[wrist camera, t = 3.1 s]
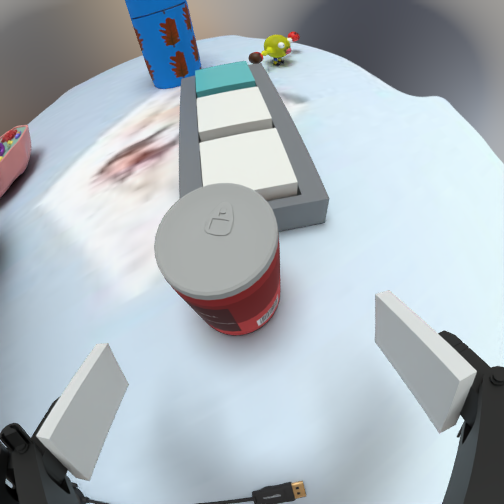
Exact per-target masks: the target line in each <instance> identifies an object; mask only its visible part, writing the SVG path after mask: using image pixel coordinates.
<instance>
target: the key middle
mask: <svg viewBox="0 0 504 504" xmlns="http://www.w3.org/2000/svg"><path fill="white" fill-rule="evenodd" d="M197 115H198V130H199V135H200V139H201V142H205V141H209V140H214V139H218V138H223V137H228V136H233V135H238V134H243V133H248V132H254V131H260V130H265V129H272V117H271V115H270V113H269V110H268V108H267V106H266V104H265V101H264V99H263V97H262V95H261V93H260V90H259V88H258V87H251V88H245V89H239V90H234V91H229V92H223V93H219V94H214V95H209V96H205V97H200V98H197Z"/></svg>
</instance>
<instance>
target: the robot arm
mask: <svg viewBox="0 0 504 504" xmlns="http://www.w3.org/2000/svg"><path fill="white" fill-rule="evenodd" d="M375 343H376V344H377V345H378V347H379V348H380V349H381V351H382V352H383V353H384V355H385V356H386V357H387V359H388V360H389V362H390V363H391V364H392V366H393V367H394V368H395V370H396V371H397V373H398V374H399V375H400V377H401V378H402V380H403V381H404V382H405V384H406V385H407V387H408V388H409V390H410V391H411V392H412V394H413V395H414V397H415V398H416V400H417V401H418V402H419V404H420V405H421V407H422V408H423V410H424V411H425V413H426V414H427V416H428V417H429V419H430V420H431V422H432V423H433V425H434V426H435V428H436V429H437V431H438V432H439V433H441V432H443V431H445V430H447V429H449V428H450V427H452V426H454V425H456V423H457V420H458V418H459V416H460V415H461V416H462V417H463V419H464V420H465V421H464V423H463V425H462V427H461V429H460V431H459V433H458V435H457V437H460V441H459V446H458V451H457V455H456V459H455V463H454V467H453V471H452V474H451V478H450V481H449V484H448V488H447V491H446V494H445V497H444V500H443V502H442V504H504V367H500V366H496V367H492V368H491V367H489V366H488V365H487V364H486V363H485V362H484V361H483V360H482V359H481V358H480V357H479V356H478V355H477V354H476V353H474V352H473V351H472V350H471V349H470V348H468V346H467V345H466V344H465V343H463V342H462V341H461V340H460V339H459V338H458V337H457V336H456V335H454V334H452V333H449V332H447V331H442V332H440V333H437V332H436V331H435V330H434V329H432V328H431V327H430V326H429V325H428V324H427V323H426V322H425V321H424V320H423V319H421V318H420V317H419V316H418V315H417V314H416V313H415V312H414V311H412V310H411V309H410V308H409V307H408V306H407V305H406V304H405V303H403V302H402V301H401V300H400V299H399V298H398V297H396V296H395V295H394V294H393V293H392V292H391V291H389V290H388V291H385V292H381V293H378V294H375ZM128 385H129V384H128V382H127V380H126V378H125V376H124V374H123V372H122V371H121V369H120V367H119V365H118V363H117V361H116V359H115V357H114V355H113V353H112V351H111V348H110V346H109V344H108V343H104V344H96V345H95V347H94V348H93V349H92V351H91V352H90V354H89V355H88V356H87V358H86V359H85V361H84V362H83V364H82V365H81V367H80V368H79V369H78V371H77V372H76V374H75V375H74V377H73V378H72V380H71V381H70V383H69V384H68V386H67V387H66V389H65V390H64V392H63V393H62V395H61V396H60V397H59V398H58V399H57V400H55V401H54V402H53V403H52V405H51V406H50V408H49V410H48V412H47V413H46V414H45V416H44V417H45V418H43V419H42V421H41V422H40V424H39V426H38V427H37V429H36V430H35V432H34V434H33V435H32V437H31V438H30V437H29V436H28V434H27V433H26V432H25V431H24V429H23V428H22V427H21V426H20V425H19V424H17V423H12V424H9V425H7V426H6V427H5V428H4V429H3V430H2V432H1V433H0V440H1V441H2V442H3V443H4V444H5V445H6V446H7V448H6V447H5V446H4V445H3V444H2V443H1V442H0V504H79V501H78V499H77V496H76V494H75V491H74V489H73V486H72V484H71V481H70V479H69V478H68V476H67V475H66V473H67V471H69V472H70V473H71V474H73V475H74V476H75V477H76V478H79V479H83V480H87V481H90V479H91V476H92V473H93V471H94V468H95V465H96V463H97V460H98V457H99V455H100V452H101V450H102V447H103V445H104V442H105V439H106V437H107V435H108V432H109V430H110V427H111V425H112V422H113V420H114V418H115V415H116V413H117V410H118V408H119V406H120V403H121V401H122V399H123V397H124V394H125V392H126V390H127V387H128ZM460 435H461V436H460ZM6 479H7V480H8V481H10V482H11V483H12V484H13V487H12V488H10V487H9V486H8V485H7V484H6V483H5V480H6Z"/></svg>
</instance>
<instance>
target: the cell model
mask: <svg viewBox="0 0 504 504" xmlns="http://www.w3.org/2000/svg"><path fill="white" fill-rule="evenodd" d="M30 155H31V138H30V133H29V128H28V125H22V126H16V127H14V128H13V129H11V130H9V131H8V132H6V133H5V134H3V136H1V137H0V197H1V196H2V195H3V194H4V193H5V192H6V191H7V190H8V189H9V187H10V186H11V184H12V183H13V181H14V180H15V179H16V178H17V177H18V176H20V175H21V174H22V173H23V172H24V171H25V170H26V168H27V165H28V162H29V158H30Z"/></svg>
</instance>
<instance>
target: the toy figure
mask: <svg viewBox="0 0 504 504" xmlns="http://www.w3.org/2000/svg"><path fill="white" fill-rule="evenodd" d="M299 38H300V36H299V34H298V33H296V32H291V33H289V34H288V38H285V37H284V36H281V35H272V36H270V37H268V38H267V39H266V40H265V42H264V51H262V53H259V52H254V53H251V54H250V55H249V61H250V62H251V63H253V64H259V63H260V62H261V61H262V60H263V56H266V55H267V54H268V55H269V56H271V57H274V63H273V64H274V65H280V64H281V63H283V62H284V61H283V60H281V57H284V56H286V55H287V54H289V53H290V52H291V48H290V43H292V42H293V41H297V40H299ZM277 58H278V62H281V63H277Z"/></svg>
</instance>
